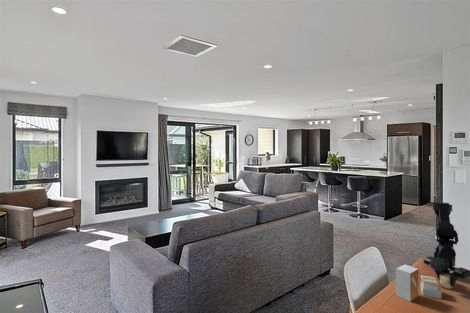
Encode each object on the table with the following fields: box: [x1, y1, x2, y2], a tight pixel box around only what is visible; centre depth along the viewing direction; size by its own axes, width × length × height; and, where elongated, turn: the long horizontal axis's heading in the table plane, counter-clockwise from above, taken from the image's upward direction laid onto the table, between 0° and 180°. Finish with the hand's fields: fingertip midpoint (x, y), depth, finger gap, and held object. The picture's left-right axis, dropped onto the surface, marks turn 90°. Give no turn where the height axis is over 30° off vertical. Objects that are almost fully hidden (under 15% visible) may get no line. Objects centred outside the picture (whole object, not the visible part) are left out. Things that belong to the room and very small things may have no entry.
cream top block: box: [420, 275, 439, 290], centre depth 128 cm, size 6×6×4 cm
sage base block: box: [419, 281, 442, 299], centre depth 128 cm, size 7×7×4 cm
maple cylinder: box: [439, 274, 454, 290], centre depth 133 cm, size 5×5×5 cm
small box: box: [395, 263, 419, 302], centre depth 126 cm, size 8×6×13 cm
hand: (446, 283), depth 133 cm, fingers closed on maple cylinder, 5 cm apart
